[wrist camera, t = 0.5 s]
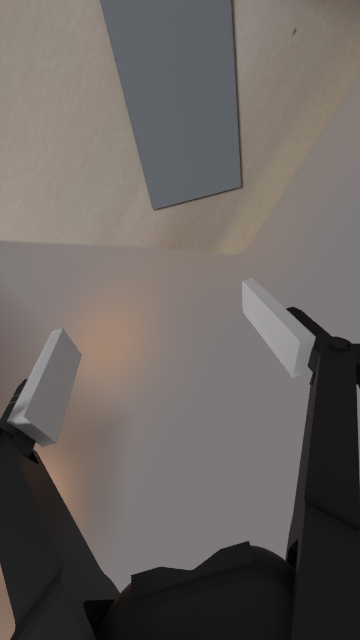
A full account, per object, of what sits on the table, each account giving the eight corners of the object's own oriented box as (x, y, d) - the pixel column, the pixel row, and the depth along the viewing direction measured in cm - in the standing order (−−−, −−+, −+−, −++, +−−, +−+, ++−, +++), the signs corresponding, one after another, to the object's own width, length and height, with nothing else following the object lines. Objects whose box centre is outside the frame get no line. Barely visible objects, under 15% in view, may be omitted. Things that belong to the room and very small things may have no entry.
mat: (94, -21, 24) (94, -25, 24) (226, -45, 25) (228, -50, 25) (153, 209, 37) (153, 209, 36) (239, 187, 38) (241, 186, 37)
